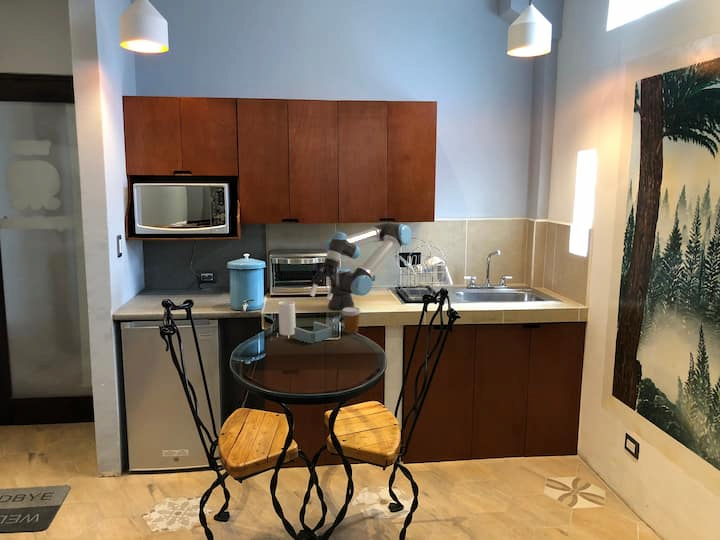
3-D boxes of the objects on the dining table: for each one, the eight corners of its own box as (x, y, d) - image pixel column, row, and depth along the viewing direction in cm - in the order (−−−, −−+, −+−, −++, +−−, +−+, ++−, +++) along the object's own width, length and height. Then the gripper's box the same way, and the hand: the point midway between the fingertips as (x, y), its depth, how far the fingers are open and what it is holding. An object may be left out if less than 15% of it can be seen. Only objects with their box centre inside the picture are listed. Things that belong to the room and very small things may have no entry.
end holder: (317, 330, 291) (317, 320, 290) (335, 336, 281) (335, 326, 280) (293, 337, 280) (292, 328, 279) (311, 344, 270) (311, 334, 269)
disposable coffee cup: (358, 335, 282) (358, 312, 279) (340, 334, 284) (339, 311, 281) (362, 329, 291) (362, 307, 288) (344, 328, 293) (344, 306, 290)
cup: (292, 329, 293) (291, 299, 289) (298, 333, 285) (296, 303, 282) (277, 331, 289) (276, 301, 286) (282, 336, 282) (281, 305, 279)
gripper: (312, 255, 308) (300, 292, 305) (343, 259, 291) (331, 298, 287) (321, 260, 313) (310, 296, 310) (353, 264, 296) (341, 302, 292)
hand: (320, 297), depth 298 cm, fingers open, 13 cm apart
